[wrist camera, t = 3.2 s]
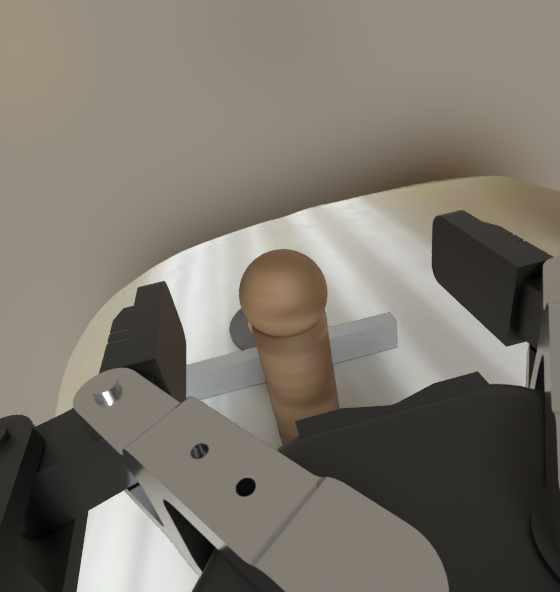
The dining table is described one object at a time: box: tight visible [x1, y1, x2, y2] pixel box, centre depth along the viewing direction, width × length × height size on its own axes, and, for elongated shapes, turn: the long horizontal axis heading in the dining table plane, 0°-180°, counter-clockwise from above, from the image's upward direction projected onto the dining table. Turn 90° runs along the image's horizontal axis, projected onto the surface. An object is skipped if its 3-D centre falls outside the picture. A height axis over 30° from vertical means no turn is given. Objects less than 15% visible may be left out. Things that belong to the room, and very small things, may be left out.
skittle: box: [239, 249, 339, 445], centre depth 29 cm, size 5×5×16 cm
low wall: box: [186, 312, 397, 400], centre depth 39 cm, size 20×2×3 cm, turn 100°
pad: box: [230, 308, 257, 350], centre depth 46 cm, size 10×10×1 cm
